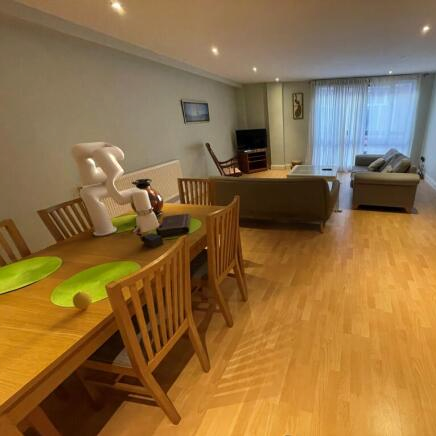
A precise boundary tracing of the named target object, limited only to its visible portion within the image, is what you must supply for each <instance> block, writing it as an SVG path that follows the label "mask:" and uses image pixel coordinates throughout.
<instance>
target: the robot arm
mask: <svg viewBox="0 0 436 436" xmlns="http://www.w3.org/2000/svg"><path fill="white" fill-rule="evenodd" d="M69 150H70V155H71V156H72V159H73V160H74V162H75V164H76V168H77V169H76V170H77V174H78V178H79V181H80V183H81V184H82V185H84V186H85V187H82V188H80V189H79V192H78V193H79V196H80V198H81V199H82V201H83V203H84V204H85V207H86V209H87V211H88V215H89V217H90V220H91V222H92V225H93V228H94V230H95V231H94V232H93V235H94V236H95V237H104V236H109V235H110V234H113V233H115V232H117V229H118V228H117V227H116V226H113V223H112V220H111V217H110V212H109V211H108V208H107V206H106V204H105V203H103V202H102V200H104V199H107V198H111V199H112V200H113V201H114V202H115V203H116V204H117V205H119V206H125V205H128V204H131V203H132V202H134V205H135V208H136V211H137V213H136V214H137V215H135V221H136V226H137V228H136V229H135V228H134V230H133V231H132V233H133V234H135V235H136V236H139V237H140V241H141V242H143V243H144V242H145V243H146V239H145V236H144V235H146V234H145V233H147V232H150V231H152V230H155V232H156V234H157V235H159V236H161V231H160V230H161V227H162V224H163V221H162V220H159V219H158V217H156V216H155V214H154V212H153V211H152V210H153V209H154V207H151V204H150V200H149V197H148V193H147V191H146V190H141V189H139V188H136V187H131V188H127V189H124V190H118V189H117V187H116V186H115V181H116V180H118V179H119V178H121V177H122V176H123V174H124V172H125V171H124V169H123V167H121V166H122V165H120V164H119V162H121V161H124V159H125V154H124V152H123V150H122V149H120V148H119V147H118V146H116V145H114V144H112V143H109V142H106V141H95V142H81V143H74V144H73V145H71V146H70V149H69ZM95 162H96V163H95ZM96 164H97V165H98V166H96ZM139 231H140V232H139Z"/></svg>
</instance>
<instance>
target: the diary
mask: <svg viewBox="0 0 436 436" xmlns="http://www.w3.org/2000/svg"><path fill="white" fill-rule="evenodd" d="M161 221H163V224H162V227H161V230H160V231H161V237H162V238H163V237H169V236H175V235H177V236H178V235H183V234H188V233H189V232H190V223H191V215H190V213H182V214H172V215H166V216H163V217H162V219H161Z"/></svg>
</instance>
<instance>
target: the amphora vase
mask: <svg viewBox="0 0 436 436" xmlns="http://www.w3.org/2000/svg"><path fill="white" fill-rule="evenodd" d="M152 181H153V180H152V178H151V179H150V178H139V179H136V180H135V179H134V180H133V181H131V184H132V185H134V186H135V188H139V189H141V190H146V191H147V193H148V197H149V200H150V204H151V207H154V209H153V210H152V211H153V212H154V214H155V216H156V218H159V217H160V216H162V215H163V211H162V210H163V208H164V205H165V203H164V199H163V197H162V195H161V194H160V192H158V191H157V190H156V189H154V188H153V187H152V186H151V183H152ZM130 207H131V209H132V211H133V212H134V213H136V214H137V211H136V208H135V205H134V202H132V203H130Z"/></svg>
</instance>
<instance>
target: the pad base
mask: <svg viewBox="0 0 436 436" xmlns="http://www.w3.org/2000/svg"><path fill="white" fill-rule="evenodd" d="M143 245H145V246H148V247H150V248H152V249H155V248H157V247H159V246H162V245H164V242H163V239H162V240H161V241H159V242H157V243H154V244H151V243H148V242H146V243H145V242H143Z"/></svg>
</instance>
